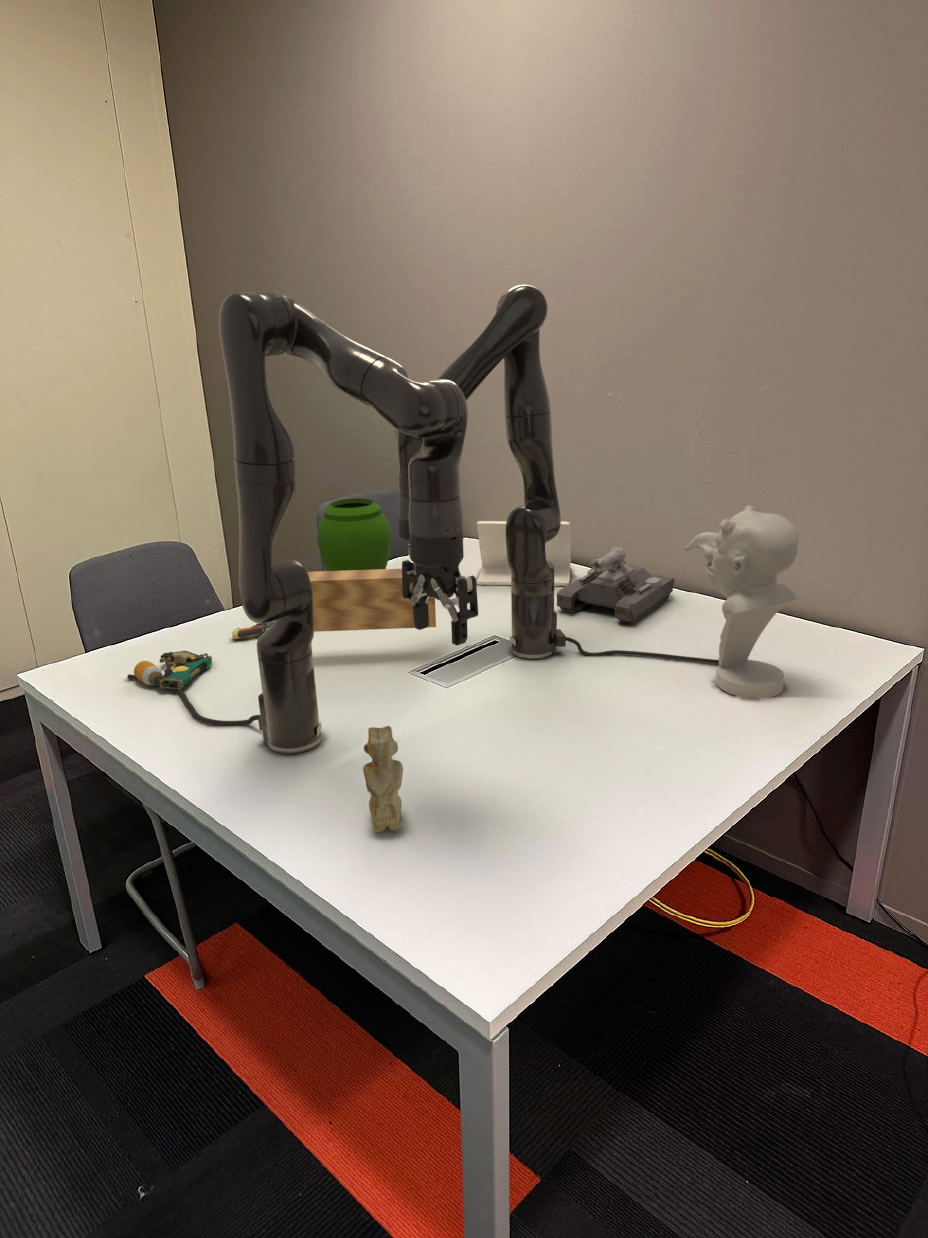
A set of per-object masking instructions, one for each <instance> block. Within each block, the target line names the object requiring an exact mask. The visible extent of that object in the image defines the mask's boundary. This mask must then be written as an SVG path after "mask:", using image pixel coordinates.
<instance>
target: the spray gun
mask: <svg viewBox="0 0 928 1238" xmlns="http://www.w3.org/2000/svg"><path fill="white" fill-rule="evenodd" d="M212 660H213V657H212V656H211V655H208V653H207V652H205V653H201V654H197V653H194V652H192V651H191V652H190V651H188V650H180V651H169V652H164V653H162V654H161V655H160V658H159V660H158V662H159V663H161V664H163V663H165V664H166V668H165V670H163V672H164V674H163V673H162V669H160V668H159V666H157V665H156V664H154V663H152V662H151V661H149V660H141V661H139V662H138V663H136V665H135V666H134V668H133V675H135V677H136V678H137V679H139V680H138V681H140V682H142V683H143V684H145V685H147V686H155V685H157V686H158V687H160V688H161V689H171V690H174V689H181V690H182V689H184V687H185V686H186V685H188V684H189V683H190V682H191V681H192V679H193V678H195V677H196V676H197V675H198V674H200V673H201V672H202V671H203V670H206V669H208V668H209V667H210V666H211V665H212V662H213V661H212ZM178 663H179V664H181V665H179V666H176V665H177V664H178ZM166 684H167V685H168V686H167V685H166ZM176 686H177V687H176Z"/></svg>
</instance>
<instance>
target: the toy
mask: <svg viewBox="0 0 928 1238" xmlns="http://www.w3.org/2000/svg"><path fill="white" fill-rule="evenodd" d="M626 557H627V556H626V551H625V549H624V548H622V547H621V546H614V547H612V548H611V549H610V550H609V552H608V553H607V554H605V555H604V556H601V557H599V558H598V559H597V557H596V558H594V559H593V560H592V561H590V562H589V563H590V564H591V565H592V567H591V568H590V569H589V570H587V573H586V575H584V576H582V577H580V578H578V579H577V580H575V581H573V582H570V583H569V585H567V586H563V587H562V588H560V589H559V590H558V591H557V592H556V607H558V608H559V609H560V610H562V611H566V612H572V613H575V612H577V611H579V610H581V609H582V608H585V607H586V606H588V605H592V606H598V607H602V608H603V607H604V608H609V609H613V610H614V618H615V619H617V620H618V621H621V622H626V623H631V624H634V623H635V622H637V621H638V620H640V619H641V618H642V617H644V616H645V615H647V614H648V613H650V612H651V611H652V610H654V609H655V608H657V607H659V606H660V605H661V604H663V603H664V602H666V601H667V600H669V598H670V596H671V594H672V593H673V591H674V585H675V580H676V579H675V578H673V577H668V576H663V575H656V576H655V577H654V576H651V574H650V573H649V572H648V571H647V570H646V568H644V567H641V566H635V565H629V564H628V563H627V562H626V561H625V559H626Z"/></svg>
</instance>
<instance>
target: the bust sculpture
mask: <svg viewBox="0 0 928 1238" xmlns="http://www.w3.org/2000/svg"><path fill="white" fill-rule="evenodd" d="M719 528H720V529H719V531H718V532H713V531H705V532H701V533H699V534H697V535H695V536H694V537H693V538H692V539H691V541H690V542H689V543H688V544H687V545H686V546H685V547H684V551H685V552H692V551H696V550H702V551H703V553H704V557H705V559H706V560H707V561H708V562H707V563H706V564H705V570H706V573H707V576H708V577H709V580H710V581H711V583H712V586H714V588H715V589H717V591H719V592H720V593H721V594H722V595H723V596H724V597H726V600H725V601H724V602H723V604H722V606H721V611H722V615H723V617H724V619H725V622H724V625H723V627H722V631H721V633H720V642H719V645H718V646H719V647H718V660H719V664H718V666H717V668H716V675H715V684H716V685H717V687H718V688H720V690H722V691H723V692H726V693H728V694H731V695H733V696H737V697H740V698H741V697H742V698H748V699H766V698H771V697H775V696H778V695H779V694H781V693H782V692H783V690H784V686H785V685H784V684H785V673H784V672H783V670H782V669H780V668H779V667H777V666H775V665H773V664H771V663H768V662H765V661H760V660H754V659H749V657H750V655H751V652H752V650H753V649H754V647H755V645H756V643H757V642H758V640H759V638H760V637H761V634H762V633H763V632H764V631H765V628H766V627H768V624H769V623H770V622H771V620H772V619H773V618H774V617H775V616H776V615H777V614H778V613H779V612H780V611H781V610H782V609H783V608H784V607H786V606H787V605H788V604H790V603H791V602H792V601H795V600H797V599H798V597H797V595H796V594H795V592H794V591H793V590H792V588H791V587H789V586H788V585H786V584H782V583H779V582H778V581H777V580H778V576H777V575H779V574H781V573H783V572H785V571H786V570H788V569H789V568H790V567H791V566H792V565H793V563H794V562H795V560H796V558H797V556H798V551H799V535H798V532H797V530H796V527H795V525H793V524H792V522H791V521H790V520H789V519H787V518H786V517H784V516H783V515H781V514H777V513H770V512H760V511H756V510H755V508H754V506H753V505H746V506H745V507H744V509H743V510H742V511H740V512H739V513H737V514H735V515H733V516H732V517H731V518H730V519H728V518H725V519H723V520H721V521H720V525H719Z"/></svg>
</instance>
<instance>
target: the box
mask: <svg viewBox="0 0 928 1238" xmlns="http://www.w3.org/2000/svg"><path fill="white" fill-rule="evenodd" d="M307 573H308V576H309V578H310V582H311V586H312V594H313V617H314V633H316V632H320V633H321V632H338V631H339V632H342V631H343V632H344V631H345V632H346V631H369V630H370V631H371V630H395V629H396V630H397V629H416V628H415V623H414V614H413V606H412V605H411V603H410V600H409V599H408V598H407V599H405V598H404V597H403V594H402V568H386V569H376V570H347V571H327V570H320V571H318V570H317V571H307ZM410 589H413V583H411V584H410ZM425 603H427V604H428V612H429V626H428V627H427V628H436V627H437V619H436V617H437V616H436V615H437V614H436V613H437V612H436V598H434V597H429V599H428V601H427V602H425Z"/></svg>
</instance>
